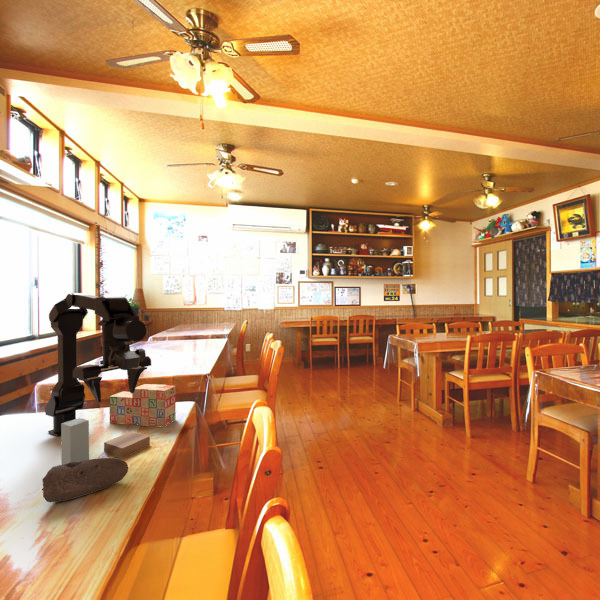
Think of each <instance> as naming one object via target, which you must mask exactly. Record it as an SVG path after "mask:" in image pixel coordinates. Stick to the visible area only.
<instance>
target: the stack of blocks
mask: <svg viewBox="0 0 600 600" xmlns="http://www.w3.org/2000/svg"><path fill="white" fill-rule="evenodd" d="M176 396H177V395H176V385H170V384H169V385H168V384H155V383H154V384H152V383H151V384H150V383H149V384H148V383H144V384H142V385H138V386H136V388H135V391H134V393H130V391H124V390H123V391H120V392H117V393H115V394H112V395H110V396H109V397H108V398H109V399H108V400H109V401H108V404H109V423H110V422H112V423H111V424H118V423H123V424H122V425H129V424H138V425H137V426H144V425H147V426H148V427H156V426H161V427H160V428H166V427H167V426H169V425H170V424H172V423H173V422H175V421H176V401H177V400H176V399H177V398H176ZM174 420H175V421H174ZM172 421H173V422H172ZM171 422H172V423H171ZM169 423H170V424H169ZM168 424H169V425H168ZM166 425H167V426H166ZM147 426H146V427H147ZM165 426H166V427H165Z"/></svg>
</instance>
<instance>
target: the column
mask: <svg viewBox="0 0 600 600" xmlns="http://www.w3.org/2000/svg"><path fill="white" fill-rule="evenodd" d="M89 422H90V421H89V419H85V418H81V417H78V418H76V419H74V420H71V421H68V422H65V423H61V436H60V439H61V442H60V443H61V446H60V447H61V448H60V449H61V450H60V451H61V453H60V454H61V459H60V460H61V464H60V465H63V464H67V463H71V462H79V461H82V460H90V423H89Z"/></svg>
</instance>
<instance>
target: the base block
mask: <svg viewBox="0 0 600 600" xmlns="http://www.w3.org/2000/svg"><path fill="white" fill-rule="evenodd" d="M150 443H151V439H150V435H147V434H143V433H139V432H135V431H129V432H126V433H124V434H121V435H119V436H117V437H114V438H111V439H110V440H107V441H104V442H103V452H104V453H106V454H108V455H112V456H115V457H118V458H119V459H124V458H127V457H128V456H131V455H133V454H134V453H135V454H136V452H139V451H141V450H143V449H145V448H147V447H150V446H151V444H150Z"/></svg>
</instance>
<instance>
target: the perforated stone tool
mask: <svg viewBox="0 0 600 600" xmlns="http://www.w3.org/2000/svg"><path fill="white" fill-rule="evenodd" d="M128 470H129V466H128V463H127V462H126V461H125V460H124V459H122V458H115V457H98V458H92V459H91V458H89V460H82V461H79V462H71V463H67V464H63V465H61V464H60V465H55V466H53V467H51V468H50V469H49V470H48V471H47V472H46V474H45V476H44V477H43V478H41V479H42V480H41V481H42V486H43V487H42V489H41V491H42V495H43V498H44V500H45V501H46V502H47V503H57V502H63V501H70V500H73V499H77V498H80V497H82V496H85V495H89V494H92V493H96V492H99V491H101V490H105V489H106V488H109V487H111V486H113V485H115V484H117V483H119V482H121V481H122V480H123V479H124V478H125V476H126V475H127V473H128V472H129V471H128Z"/></svg>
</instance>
